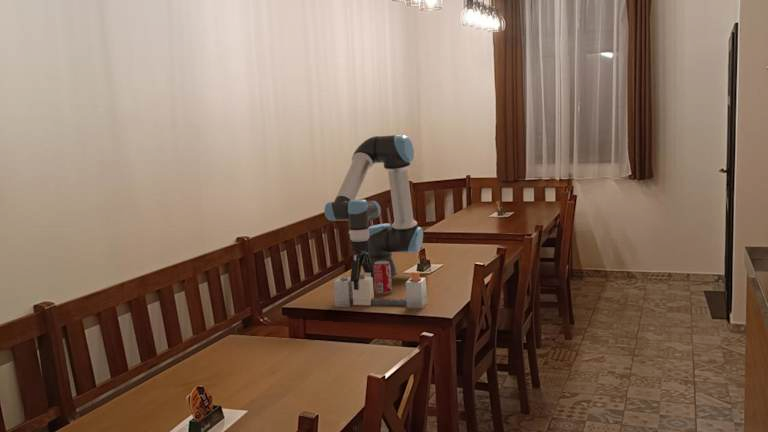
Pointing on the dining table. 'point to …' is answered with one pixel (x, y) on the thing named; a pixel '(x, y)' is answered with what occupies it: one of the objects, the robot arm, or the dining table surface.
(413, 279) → the plunger
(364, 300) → the carriage
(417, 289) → the rail and cabinets
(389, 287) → the soda can
